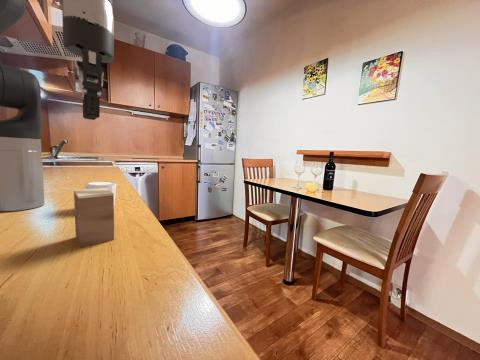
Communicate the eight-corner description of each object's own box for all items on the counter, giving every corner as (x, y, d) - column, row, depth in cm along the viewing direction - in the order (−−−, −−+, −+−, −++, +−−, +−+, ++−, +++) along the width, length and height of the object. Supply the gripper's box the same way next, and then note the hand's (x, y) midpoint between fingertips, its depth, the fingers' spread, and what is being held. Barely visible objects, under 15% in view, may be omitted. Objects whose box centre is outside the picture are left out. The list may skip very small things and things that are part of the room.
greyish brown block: (75, 237, 37) (73, 190, 36) (107, 231, 41) (106, 188, 40) (80, 247, 34) (78, 196, 33) (114, 239, 38) (113, 193, 36)
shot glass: (101, 213, 50) (100, 186, 49) (78, 210, 52) (77, 183, 51) (122, 206, 57) (122, 182, 56) (102, 203, 58) (101, 180, 57)
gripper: (64, 32, 40) (66, 116, 42) (59, -5, 29) (63, 112, 31) (109, 47, 44) (109, 122, 47) (119, 21, 34) (118, 120, 36)
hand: (90, 118), depth 39 cm, fingers open, 8 cm apart
